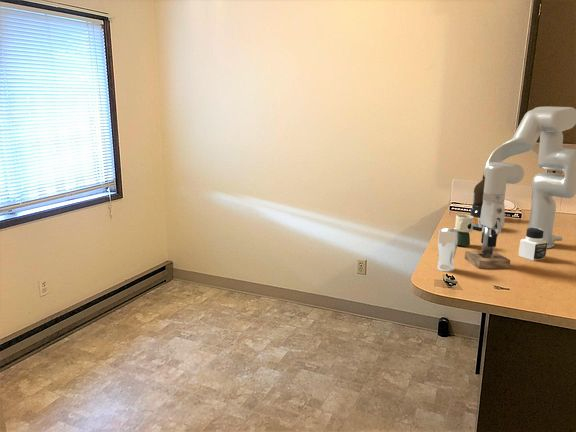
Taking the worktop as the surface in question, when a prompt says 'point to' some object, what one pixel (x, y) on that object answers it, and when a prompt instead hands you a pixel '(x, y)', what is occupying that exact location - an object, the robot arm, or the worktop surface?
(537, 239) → the medicine bottle
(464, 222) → the character mug
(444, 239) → the beer glass
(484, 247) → the metal peg
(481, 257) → the square ring frame
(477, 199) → the olive oil
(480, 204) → the supplement container
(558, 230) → the worktop surface
